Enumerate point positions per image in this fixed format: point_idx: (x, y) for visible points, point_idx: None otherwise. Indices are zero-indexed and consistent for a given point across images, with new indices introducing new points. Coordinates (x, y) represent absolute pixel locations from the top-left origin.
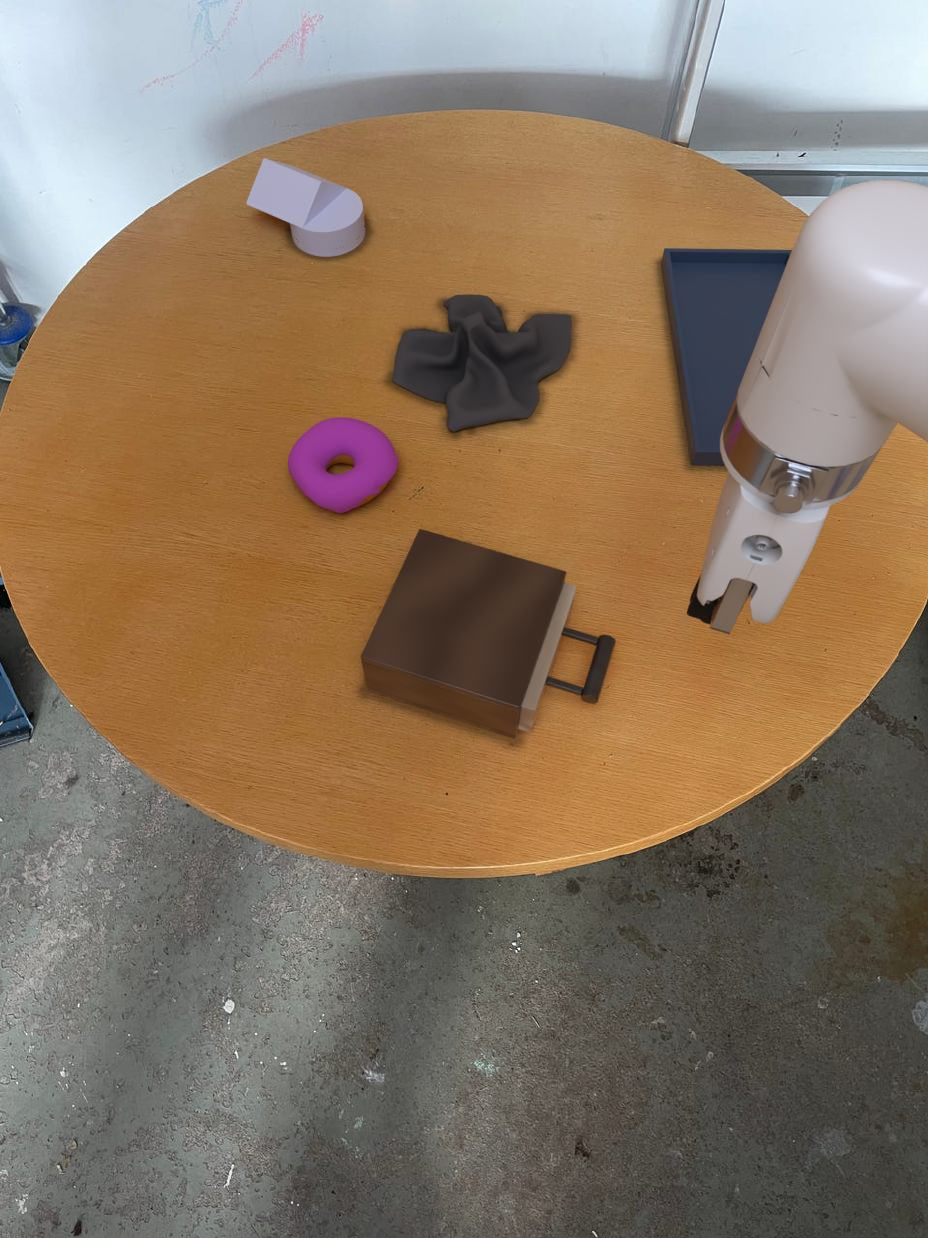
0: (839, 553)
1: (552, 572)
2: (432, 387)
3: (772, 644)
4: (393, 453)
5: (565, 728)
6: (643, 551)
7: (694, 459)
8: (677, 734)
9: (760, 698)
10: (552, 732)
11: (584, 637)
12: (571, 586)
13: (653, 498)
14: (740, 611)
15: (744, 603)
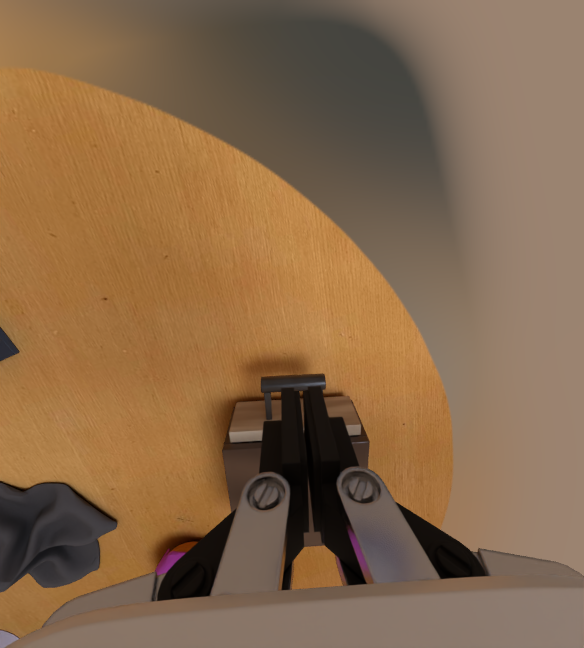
0: (25, 177)
1: (229, 459)
2: (85, 546)
3: (178, 228)
4: (168, 563)
5: (331, 371)
6: (142, 364)
7: (10, 354)
8: (305, 290)
9: (241, 227)
10: (337, 378)
11: (269, 403)
12: (231, 436)
13: (81, 372)
14: (328, 418)
15: (390, 495)
